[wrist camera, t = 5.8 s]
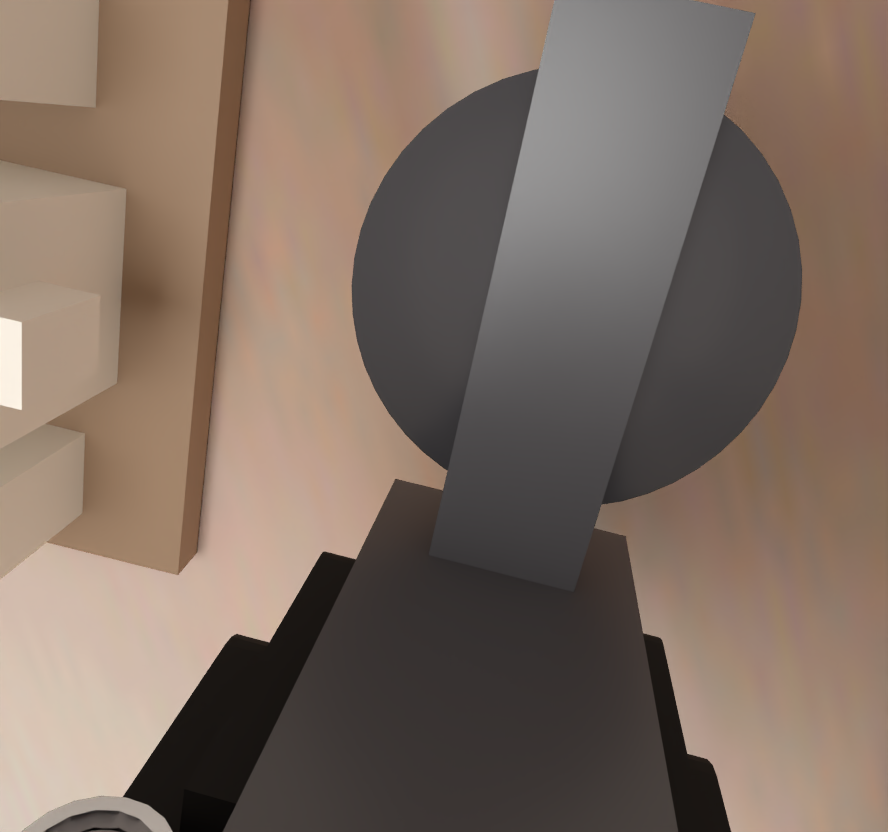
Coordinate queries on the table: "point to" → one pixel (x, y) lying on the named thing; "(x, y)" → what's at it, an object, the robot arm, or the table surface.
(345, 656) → the grey bar with discs
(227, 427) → the table surface
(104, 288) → the boxes on tan tray
